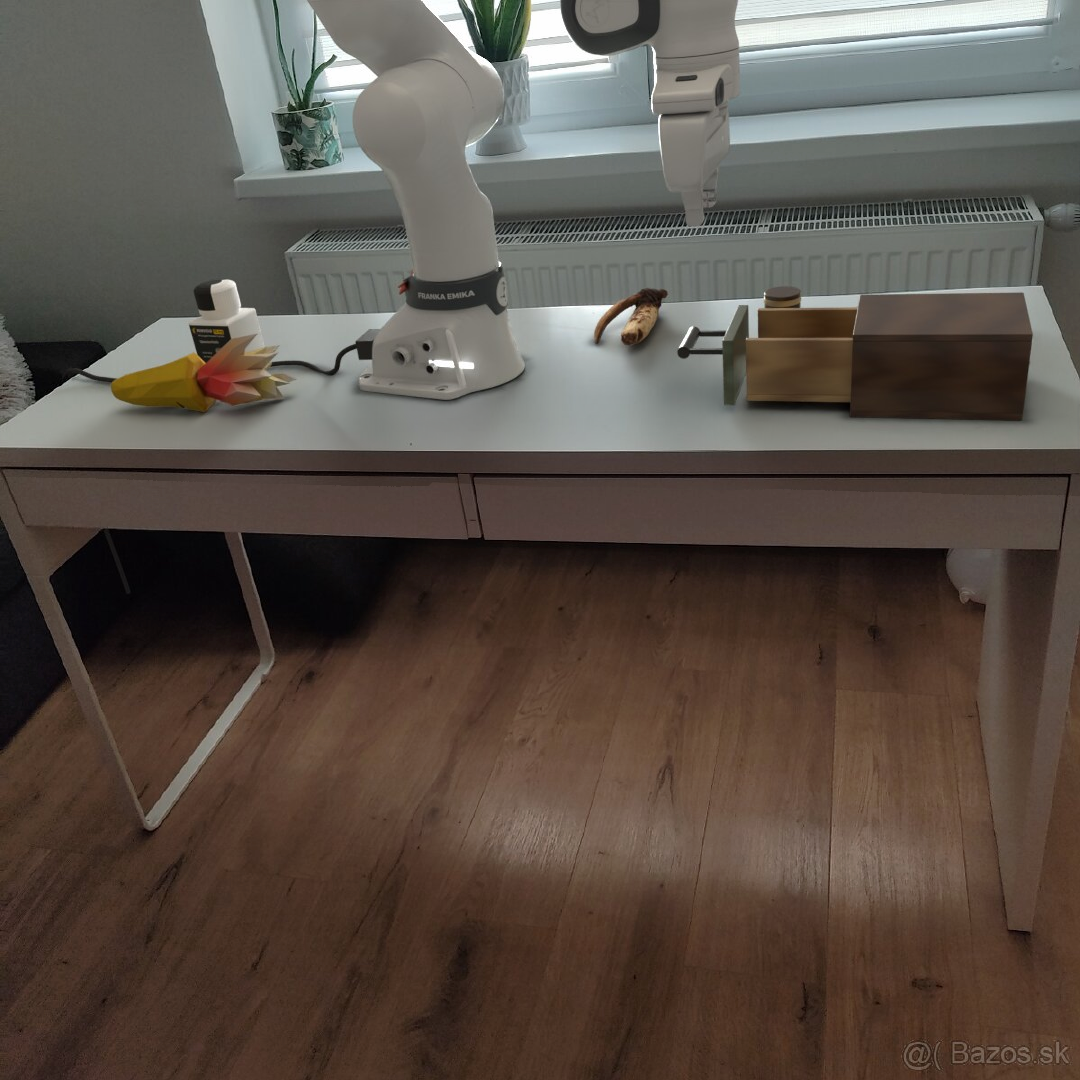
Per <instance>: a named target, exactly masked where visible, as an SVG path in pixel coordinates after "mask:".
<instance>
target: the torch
mask: <svg viewBox="0 0 1080 1080" xmlns="http://www.w3.org/2000/svg"><path fill="white" fill-rule="evenodd" d="M256 335H257V334H253V335H248V336H243V337H238V338H233V339H231V340H230V341H229V342H228V343H227V344H226V345H224V346H223V347H222V348H221V349H220V350H219V351H218V352H217V353H216V354H215V355H214V356H213V357H212V358H211V359H210V360H209V361H208V362H207V363H205V362H204V361H203V360H202V359H201V358H200V357H199V356H198V355H197V352H192V353H189V354H187V355H184V356H182V357H180V358H178V359H176V360H173V361H170V362H168V363H165V364H162V365H158V366H154V367H151V368H146V369H143V370H138V371H135V372H130V373H127V374H124V375H122V376H120V377H118V378H117V379H116V380H114V381H113V382H112V383H110V391H111V393H112V395H113V397H114V398H115V399H116V400H118V401H120V402H124V403H127V404H130V405H134V406H141V407H150V408H151V407H153V408H155V407H157V408H160V407H163V408H165V407H168V408H169V407H171V408H172V407H174V408H179V409H187V410H189V411H196V412H200V413H201V412H202V413H207V411H208V410H210V408H211V407H212V406H213V405H214V404H215V403H216V402H217V401H220V402H223V403H227V404H229V405H230V406H231V407H234V406H239V405H243V404H250V403H253V402H257V401H261V400H285V399H286V398H285V396H284V395H283V394H282V393H281V391H280V390H279V388H278V387H281V386H285V385H289V384H291V382H294V381H297V380H298V379H297V378H294V377H292V376H290V375H288V374H285V373H275V374H274V373H273V374H270V373H269V372H268V369H270V368H271V367H270V366H271V365H272V362H274V361H273V359H274V358H275V357H276V356H277V355H278V354H279V353H280V352H276V351H277V350H278V348H279V347H281V345H280V344H279V345H272V346H265V347H264V348H260V349H257V350H254V351H251V352H247V353H245V348H246V347H247V346H248V344H249V343H250V342H251V341H252V340H253V339H254V338H255V336H256Z"/></svg>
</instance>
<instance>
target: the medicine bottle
mask: <svg viewBox="0 0 1080 1080" xmlns="http://www.w3.org/2000/svg"><path fill="white" fill-rule="evenodd" d="M193 295H194V299H195V303H196V306H197V310H198V314H199V315H200V316H199V317H197V318H195V319H193V320H191V321H189V322H188V327H189V330H190V335H191V337H192V341H193V345H194V349H195V351H196V352H195V353H196V354H197V355H198V356H199V357H200V358H201V359H202V360H203V361H204V362H205V363H207V362H208V361H209V360H210V359H211V358H212V357H213V356H214V355H215V354H216V353H217V352H218V351H219V350H220V349H221V348H222V347H223V346H224V345H226V344H227V343H228V342H229V341H230V340H231V339H233V338H238V337H243V336H248V335H253V334H257V335H256V336H255V338H254V339H253V340H252V341H251V342H250V343H249V344H248V346H247V347H246V348H245V353H247V352H251V351H254V350H257V349H260V348H264V347H266V346H265V342H264V338H263V334H262V330H261V326H260V322H259V318H258V315H257V310H256V309H255V308H254V307H242V302H241V299H240V295H239V292H238V287H237V284H236V282H235V281H234V280H232V279H229V278H214V279H209V280H206V281H203V282H201V283H199V284H197V285H196V286H195V287H194V288H193Z"/></svg>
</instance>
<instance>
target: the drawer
mask: <svg viewBox="0 0 1080 1080" xmlns="http://www.w3.org/2000/svg"><path fill="white" fill-rule="evenodd" d="M857 309H858V306H856V307H855V306H854V307H852V306H851V307H850V306H849V307H846V306H845V307H843V306H842V307H801V308H763V307H760V308H758V309H757V337H750V324H749V319H750V318H749V317H750V315H749V314H750V313H749V304H738V306H737V308H736V310H735V312H734V314H733V316H732V319H731V321H730V323H729V325H728V327H727V330H726V329H725V330H722V329H721V330H719V329H718V330H700V328H699V327H698V326H695V325H694V326H691V327H689V328H688V330H687V331H686V333H685V335H684V337H683V339H682V341H681V343H680V345H679V346H678V348H677V351H676V355H677V356H678V357H679V358H680V359H682V360H683V359H684V360H685V359H687V358H689V357H690V355H704V356H705V355H707V356H708V355H711V356H712V355H714V356H715V355H717V356H718V355H722V383H723V384H722V387H723V405H724V406H735V404H736V401H737V399H738V396H739V394H740V391H741V388H742V386H743V384H744V380H745V379H746V380H745V381H746V382H745V383H746V384H745V385H746V401H747V402H749V401H751V402H809V403H810V402H812V403H850V401H851V374H852V346H853V332H854V326H855V320H856V315H857ZM700 337H701V338H702V337H703V338H704V337H705V338H706V337H709V338H713V337H714V338H716V337H717V338H720V337H721V338H723V339H722V341H721V345H722V347H695V345H696V344H697V341H698V339H699V338H700ZM745 377H746V378H745Z"/></svg>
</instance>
